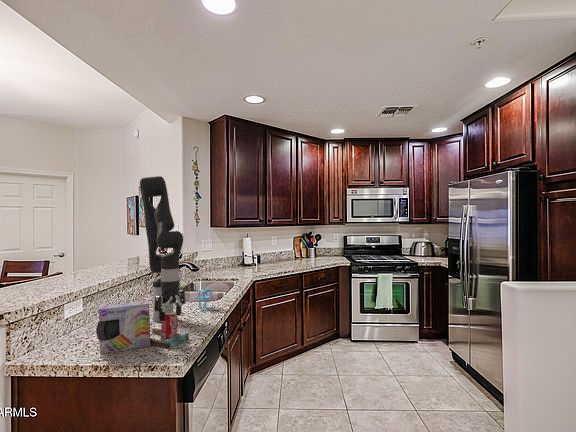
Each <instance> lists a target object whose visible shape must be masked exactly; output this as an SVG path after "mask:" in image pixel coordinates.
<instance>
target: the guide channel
mask: <svg viewBox="0 0 576 432" xmlns="http://www.w3.org/2000/svg"><path fill="white" fill-rule="evenodd" d="M151 334H153V335H156V336H161V328H156V327H154V328H152V329H151ZM187 340H188V341H189V340H190V333H189V332H187V331H186V332H183V333H179V332H177V336H175V337H173V338H170V339H167V340H165V341H162V340H161V339H157V338H153V337H150V346H154V347H159V348H163V349H165V350H166V349H170V347H171V348H172V347H175V346H178V345H180V344H183V343H185V342H187ZM184 341H185V342H184ZM182 342H183V343H182ZM177 344H178V345H177Z"/></svg>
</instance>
